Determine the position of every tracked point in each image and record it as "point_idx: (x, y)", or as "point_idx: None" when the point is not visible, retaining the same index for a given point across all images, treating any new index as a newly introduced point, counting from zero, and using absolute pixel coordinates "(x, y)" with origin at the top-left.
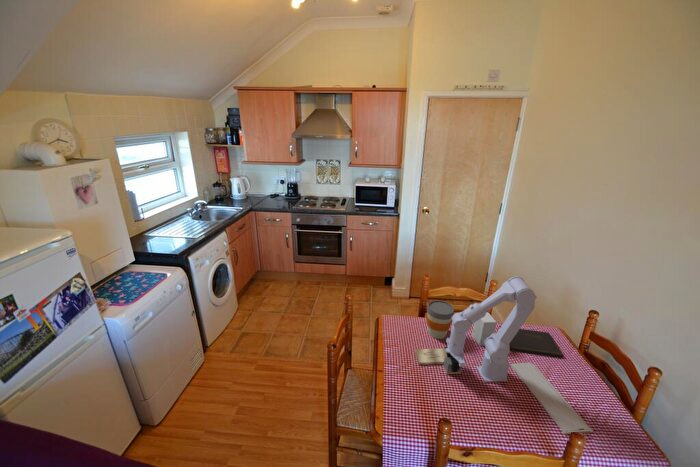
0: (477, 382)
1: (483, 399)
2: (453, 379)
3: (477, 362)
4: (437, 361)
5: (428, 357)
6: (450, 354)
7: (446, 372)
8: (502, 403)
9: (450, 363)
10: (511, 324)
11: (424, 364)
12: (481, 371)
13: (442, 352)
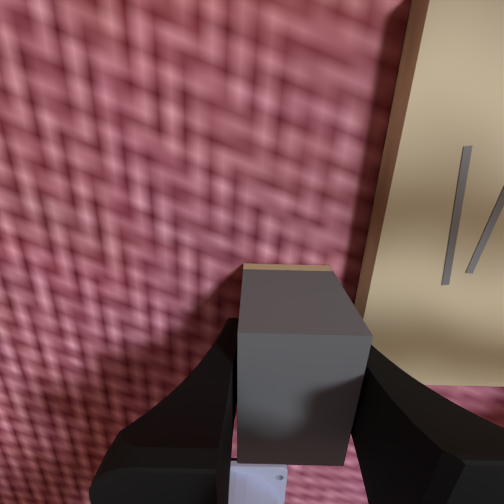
0: None
1: (29, 401)
2: (185, 293)
3: (324, 477)
4: (389, 231)
5: (478, 148)
6: (381, 432)
7: (253, 266)
8: (25, 468)
9: (253, 361)
10: None
11: (399, 69)
12: (229, 484)
13: (485, 321)
